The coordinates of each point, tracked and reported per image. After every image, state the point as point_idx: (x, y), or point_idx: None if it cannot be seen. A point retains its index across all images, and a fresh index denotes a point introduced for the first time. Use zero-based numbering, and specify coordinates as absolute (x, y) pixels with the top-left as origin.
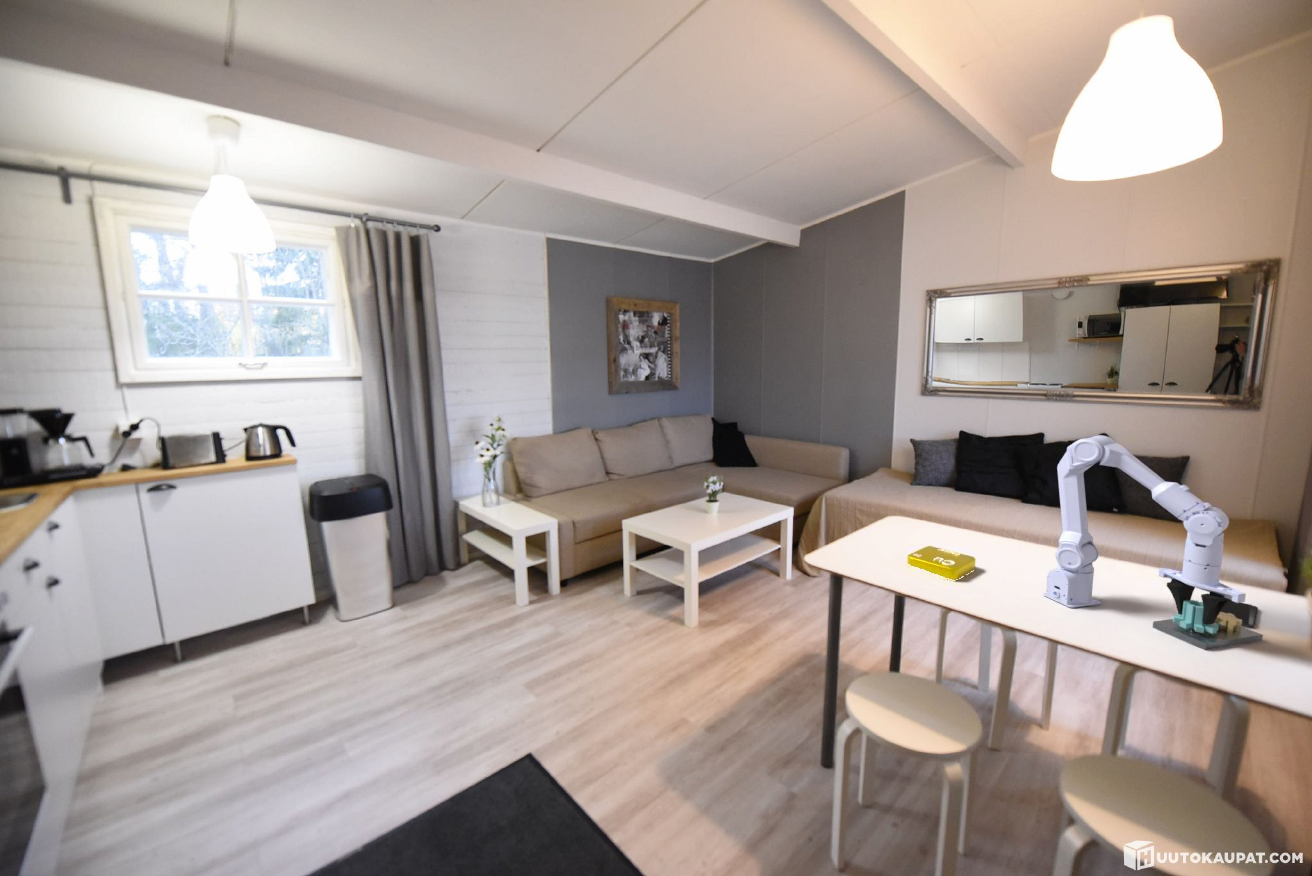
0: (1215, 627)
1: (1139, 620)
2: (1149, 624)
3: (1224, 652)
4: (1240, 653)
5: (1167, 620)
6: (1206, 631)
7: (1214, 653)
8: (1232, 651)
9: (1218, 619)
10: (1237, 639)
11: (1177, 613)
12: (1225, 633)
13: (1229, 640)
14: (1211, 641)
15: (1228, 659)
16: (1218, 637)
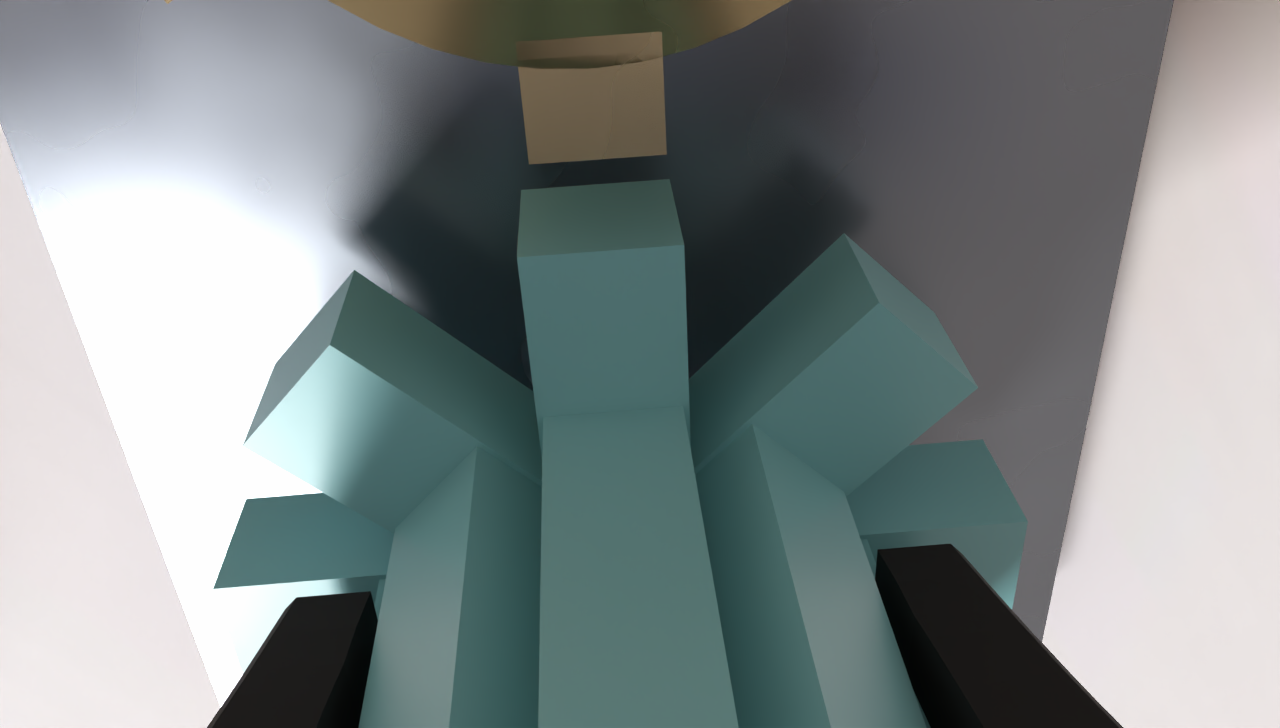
0: (999, 526)
1: (3, 659)
2: (154, 638)
3: (1133, 450)
4: (1267, 256)
5: (199, 558)
6: (735, 325)
7: (1087, 591)
8: (1174, 309)
9: (736, 22)
10: (1160, 16)
11: (229, 632)
12: (915, 8)
13: (1116, 251)
14: (1022, 593)
15: (1251, 577)
16: (977, 351)
